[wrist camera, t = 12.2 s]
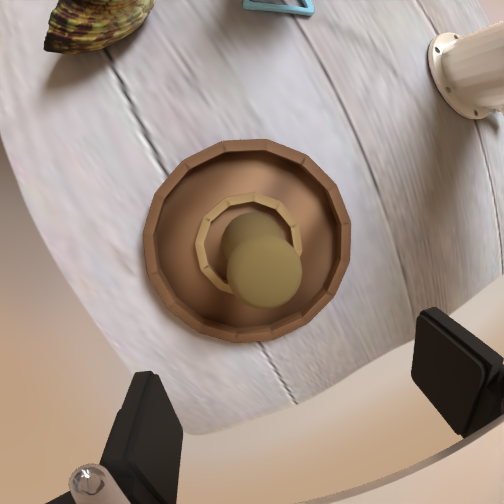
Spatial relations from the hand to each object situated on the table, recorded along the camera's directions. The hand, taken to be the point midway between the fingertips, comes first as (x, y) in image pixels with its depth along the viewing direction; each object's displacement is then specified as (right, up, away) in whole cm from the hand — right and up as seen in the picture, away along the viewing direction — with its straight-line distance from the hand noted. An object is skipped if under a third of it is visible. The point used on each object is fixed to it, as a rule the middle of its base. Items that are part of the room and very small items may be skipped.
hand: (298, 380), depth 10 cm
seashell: (-17, +30, +14) cm, 37 cm away
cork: (-2, +5, +21) cm, 21 cm away
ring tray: (-2, +5, +21) cm, 22 cm away
